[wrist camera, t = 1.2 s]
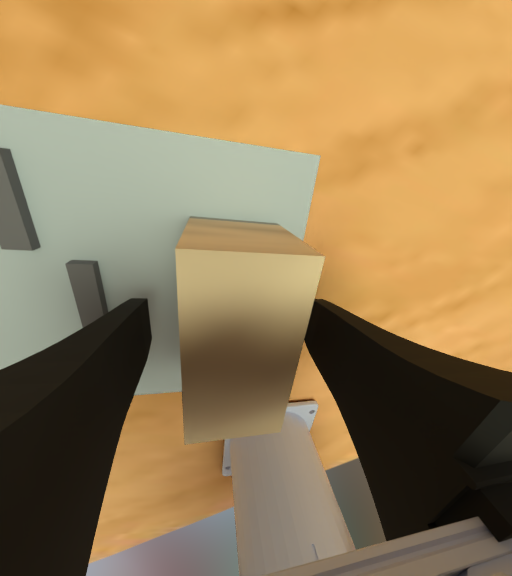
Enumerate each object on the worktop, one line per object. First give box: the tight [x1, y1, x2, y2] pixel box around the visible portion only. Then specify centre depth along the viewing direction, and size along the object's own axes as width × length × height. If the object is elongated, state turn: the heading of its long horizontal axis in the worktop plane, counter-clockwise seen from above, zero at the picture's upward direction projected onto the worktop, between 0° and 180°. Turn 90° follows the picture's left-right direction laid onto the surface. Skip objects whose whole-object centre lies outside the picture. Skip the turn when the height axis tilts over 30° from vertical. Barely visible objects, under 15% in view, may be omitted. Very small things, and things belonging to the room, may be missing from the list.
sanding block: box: [175, 216, 325, 445], centre depth 10 cm, size 8×4×5 cm, turn 173°
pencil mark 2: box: [65, 260, 108, 327], centre depth 10 cm, size 4×1×1 cm, turn 174°
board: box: [0, 105, 320, 395], centre depth 11 cm, size 14×20×2 cm
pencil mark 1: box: [0, 148, 41, 251], centre depth 8 cm, size 4×1×1 cm, turn 173°
